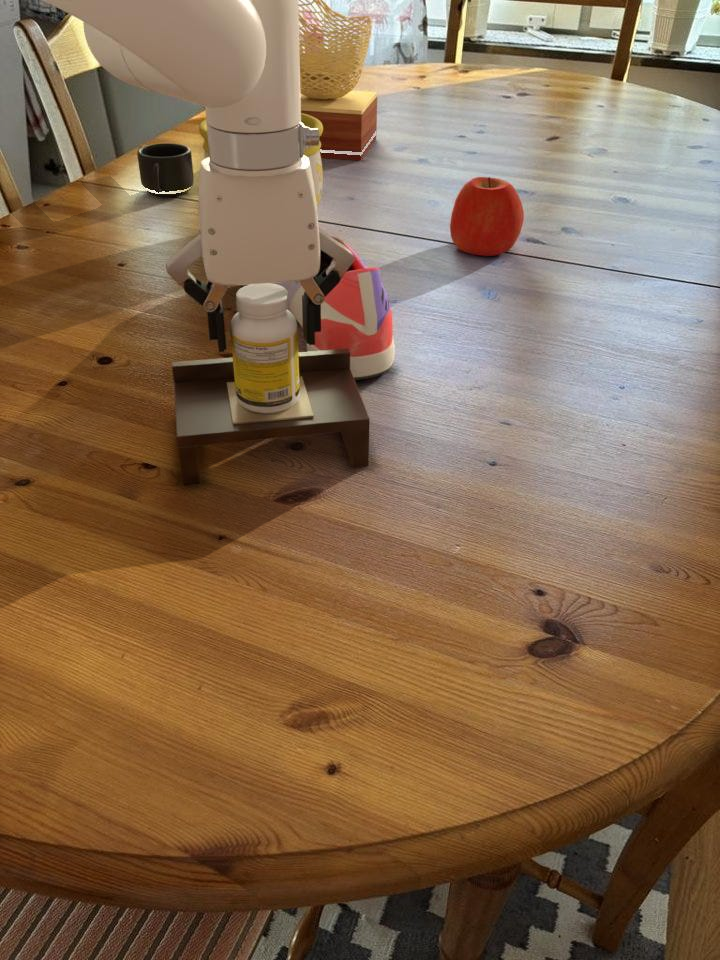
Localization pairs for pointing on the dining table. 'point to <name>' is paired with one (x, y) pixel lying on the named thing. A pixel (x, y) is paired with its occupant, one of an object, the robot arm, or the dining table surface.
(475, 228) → the apple
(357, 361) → the coral sneaker
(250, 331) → the pill bottle
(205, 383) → the shelf
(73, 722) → the dining table surface
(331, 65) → the beige netted upright structure
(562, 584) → the dining table surface
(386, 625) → the dining table surface
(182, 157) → the mug
